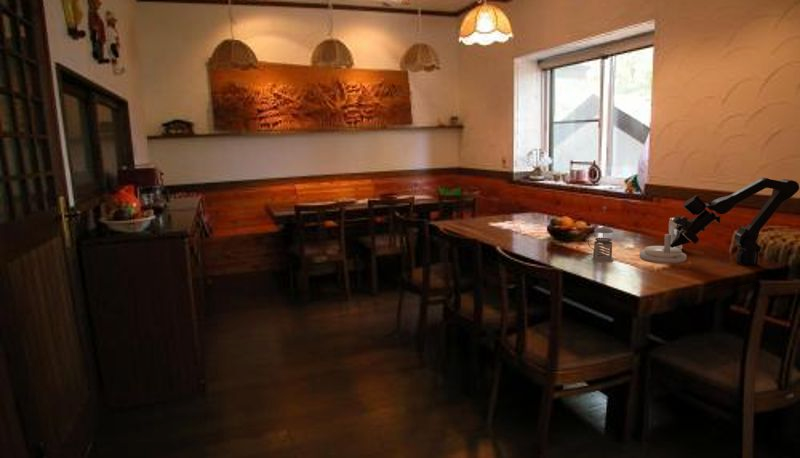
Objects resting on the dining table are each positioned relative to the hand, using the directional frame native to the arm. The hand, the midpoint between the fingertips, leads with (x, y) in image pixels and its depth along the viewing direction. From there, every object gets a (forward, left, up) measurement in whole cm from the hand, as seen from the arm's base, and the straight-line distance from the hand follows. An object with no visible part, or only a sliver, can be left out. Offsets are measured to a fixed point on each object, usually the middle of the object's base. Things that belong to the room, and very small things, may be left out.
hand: (670, 246), depth 217 cm
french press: (+29, -5, -7) cm, 30 cm away
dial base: (+1, -7, -7) cm, 10 cm away
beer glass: (-13, -27, -7) cm, 31 cm away
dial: (+1, -7, -5) cm, 8 cm away
